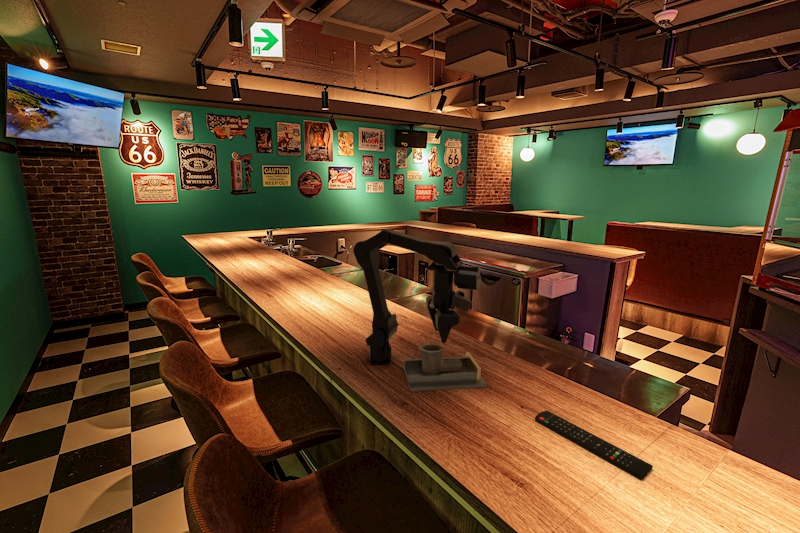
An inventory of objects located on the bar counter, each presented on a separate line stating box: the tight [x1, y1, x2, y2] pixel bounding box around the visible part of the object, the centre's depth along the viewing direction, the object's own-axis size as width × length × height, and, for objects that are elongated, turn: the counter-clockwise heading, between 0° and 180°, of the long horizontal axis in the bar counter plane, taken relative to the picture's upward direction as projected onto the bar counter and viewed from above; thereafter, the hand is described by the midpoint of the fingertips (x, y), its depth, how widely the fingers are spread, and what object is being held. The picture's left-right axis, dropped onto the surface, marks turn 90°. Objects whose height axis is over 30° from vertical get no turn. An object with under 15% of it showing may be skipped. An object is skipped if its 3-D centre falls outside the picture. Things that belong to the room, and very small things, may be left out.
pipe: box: [418, 343, 462, 374], centre depth 111 cm, size 6×13×8 cm, turn 90°
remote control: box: [534, 410, 653, 480], centre depth 83 cm, size 5×24×1 cm, turn 37°
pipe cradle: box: [402, 351, 488, 392], centre depth 111 cm, size 22×14×5 cm, turn 97°
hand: (440, 336), depth 111 cm, fingers open, 9 cm apart
